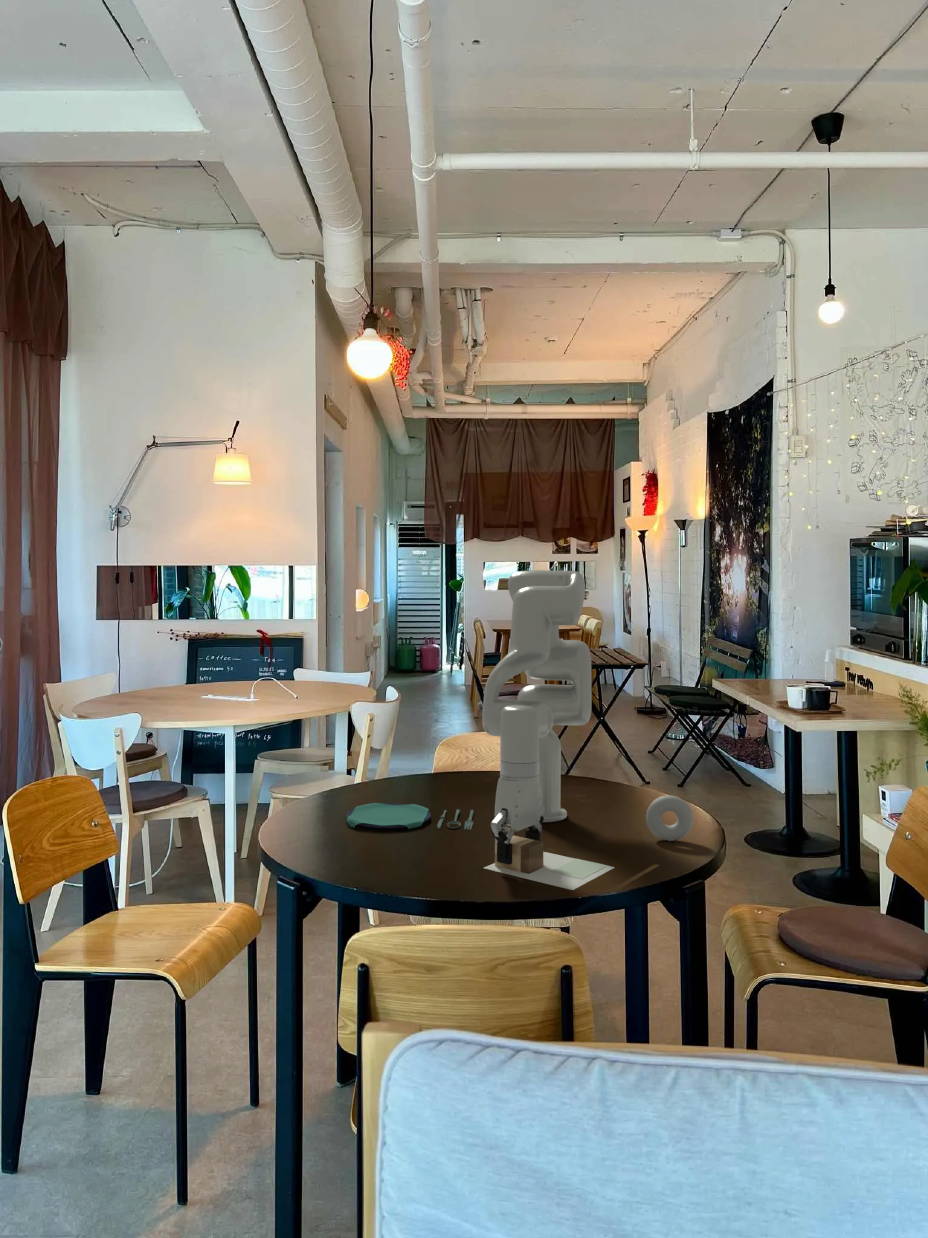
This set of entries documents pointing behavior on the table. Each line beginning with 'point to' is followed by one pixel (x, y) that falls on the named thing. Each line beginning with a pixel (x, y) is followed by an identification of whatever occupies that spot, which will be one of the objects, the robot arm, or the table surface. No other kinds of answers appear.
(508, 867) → the oak block
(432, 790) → the table surface
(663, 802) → the donut
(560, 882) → the grey mat
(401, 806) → the cutlery set
